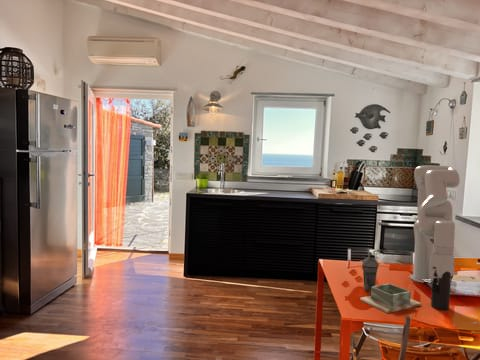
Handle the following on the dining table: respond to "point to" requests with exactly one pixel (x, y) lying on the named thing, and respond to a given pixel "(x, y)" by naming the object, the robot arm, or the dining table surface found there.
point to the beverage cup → (369, 272)
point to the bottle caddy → (390, 298)
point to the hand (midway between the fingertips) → (441, 291)
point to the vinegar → (442, 293)
